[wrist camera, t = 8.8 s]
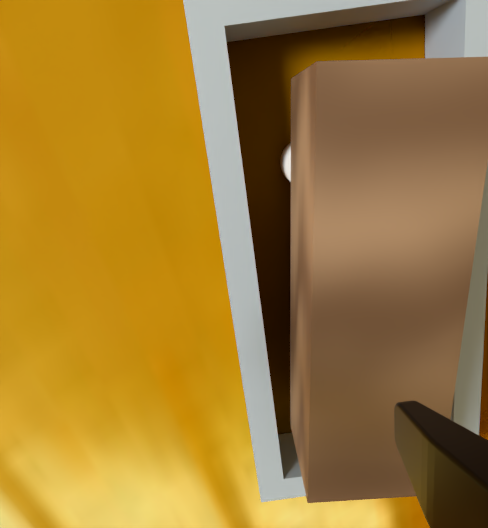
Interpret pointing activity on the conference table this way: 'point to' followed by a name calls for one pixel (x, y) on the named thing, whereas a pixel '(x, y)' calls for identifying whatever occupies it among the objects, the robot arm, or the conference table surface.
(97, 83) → the conference table surface
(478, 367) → the peg frame
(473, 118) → the brown block
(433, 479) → the robot arm
